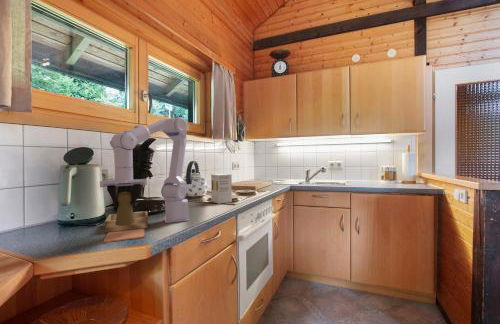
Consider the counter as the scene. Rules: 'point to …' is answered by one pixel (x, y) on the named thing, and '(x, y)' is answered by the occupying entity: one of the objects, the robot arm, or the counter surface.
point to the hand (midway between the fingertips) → (124, 206)
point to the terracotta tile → (124, 235)
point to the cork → (124, 209)
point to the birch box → (139, 223)
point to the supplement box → (221, 188)
